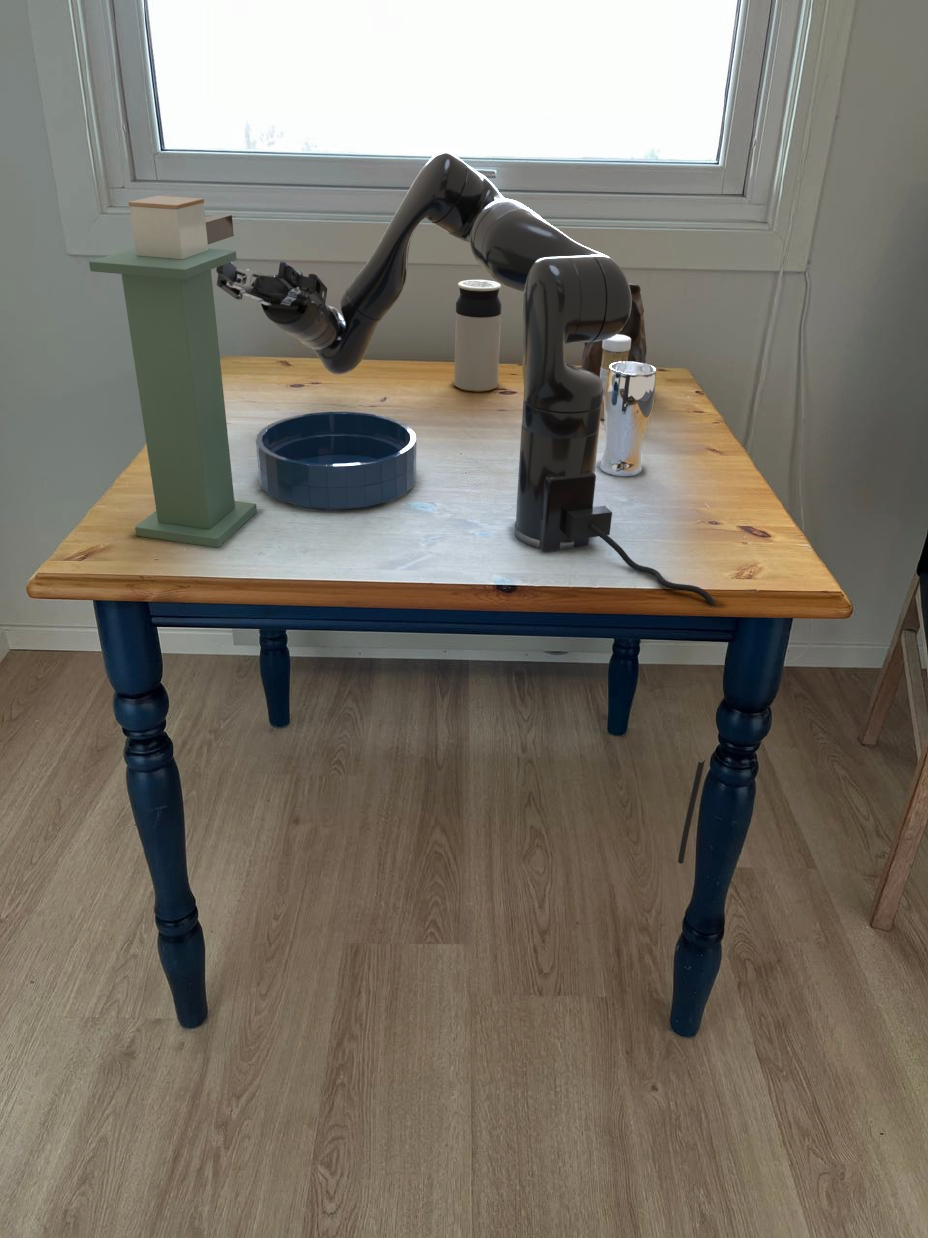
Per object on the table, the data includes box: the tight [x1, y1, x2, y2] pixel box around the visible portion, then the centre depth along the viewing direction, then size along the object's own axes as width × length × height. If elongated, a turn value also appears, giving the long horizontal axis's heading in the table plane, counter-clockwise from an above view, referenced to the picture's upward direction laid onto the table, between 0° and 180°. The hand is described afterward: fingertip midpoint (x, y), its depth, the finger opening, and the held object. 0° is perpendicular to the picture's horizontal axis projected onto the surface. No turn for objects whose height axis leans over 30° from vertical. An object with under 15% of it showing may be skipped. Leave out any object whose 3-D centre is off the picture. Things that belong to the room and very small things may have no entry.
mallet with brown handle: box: [128, 195, 235, 259], centre depth 108 cm, size 16×6×5 cm, turn 166°
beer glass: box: [599, 362, 657, 477], centre depth 136 cm, size 7×7×15 cm
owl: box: [580, 282, 648, 377], centre depth 167 cm, size 13×13×20 cm
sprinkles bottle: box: [600, 334, 631, 421], centre depth 157 cm, size 5×5×14 cm
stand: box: [88, 247, 258, 548], centre depth 111 cm, size 12×11×32 cm
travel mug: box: [453, 279, 503, 393], centre depth 169 cm, size 8×8×18 cm
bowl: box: [255, 411, 417, 511], centre depth 131 cm, size 22×22×6 cm
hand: (251, 266), depth 123 cm, fingers open, 8 cm apart
